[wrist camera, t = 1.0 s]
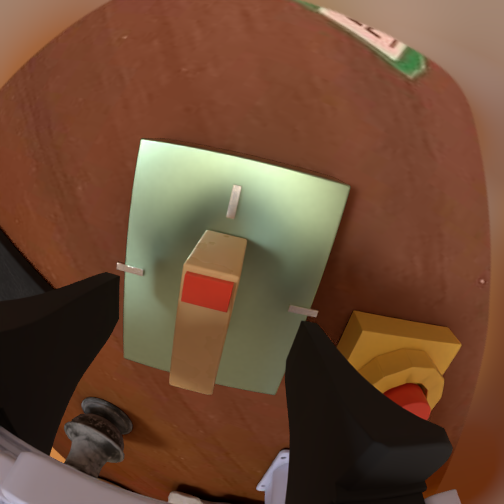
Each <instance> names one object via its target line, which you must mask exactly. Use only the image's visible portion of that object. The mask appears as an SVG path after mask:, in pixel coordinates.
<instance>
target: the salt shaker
mask: <svg viewBox="0 0 504 504" xmlns="http://www.w3.org/2000/svg"><path fill="white" fill-rule="evenodd" d="M82 409H83V411H84V413H85V414H80V415H78V416H77V417H75V418H74V419H72V421H71V422H67V423H66V424H65V426H64V429H65V432H66V434H67V436H68V437H69V439H70V440H71V441H72V446H71V451H70V453H69V455H68V457H67V459H66V461H65V463H64V464H66V465H68V466H70V467H72V468H74V469H76V470H78V471H80V472H83V473H85V474H87V475H89V476H92V477H94V478H96V479H97V478H98V475H99V473H100V470H101V468H102V467H103V465H104V464H105V463H106V462H115V463H117V462H121V461H122V460H123V459H124V453H123V449H124V443H123V438H122V435H121V434H128V433H130V432H131V430H132V423H131V421H130V419H129V418H128V416H127V415H126V414H125V413H124V412H123V411H121V410H120V409H119V408H118V407H116V406H114V405H113V404H111V403H109V402H107V401H105V400H102V399H99V398H94V397H89V398H86V399H84V400H83V402H82Z"/></svg>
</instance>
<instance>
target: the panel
mask: <svg viewBox="0 0 504 504" xmlns="http://www.w3.org/2000/svg"><path fill="white" fill-rule="evenodd" d="M350 188H351V187H350V185H348V184H346V183H344V182H342V181H340V180H339V179H337V178H335V177H331V176H328V175H325V174H321V173H318V172H314V171H311V170H307V169H303V168H300V167H296V166H292V165H288V164H285V163H281V162H277V161H273V160H269V159H265V158H260V157H256V156H252V155H248V154H243V153H239V152H234V151H229V150H225V149H220V148H215V147H210V146H205V145H200V144H194V143H189V142H183V141H177V140H171V139H165V138H141V140H140V146H139V151H138V157H137V163H136V169H135V176H134V183H133V190H132V197H131V205H130V214H129V224H128V234H127V246H126V260H125V263H122V262H117V269H118V270H121V271H125V277H124V308H123V342H124V358H126V359H129V360H132V361H135V362H138V363H141V364H144V365H147V366H151V367H154V368H157V369H161V370H164V371H168V372H170V367H171V357H172V347H173V338H174V330H175V321H176V313H177V306H178V298H179V291H180V284H181V277H182V270H183V265H184V263H185V262H186V260H187V259H188V257H189V255H190V254H191V252H192V251H193V249H194V248H195V246H196V245H197V243H198V242H199V240H200V239H201V237H202V236H203V234H204V233H205V231H206V230H210V231H214V232H219V233H223V234H227V235H231V236H236V237H240V238H244V239H246V240H247V245H246V251H245V256H244V261H243V266H242V272H241V277H240V281H239V285H238V290H237V294H236V298H235V302H234V306H233V310H232V314H231V318H230V323H229V327H228V331H227V335H226V339H225V343H224V347H223V352H222V356H221V360H220V364H219V368H218V372H217V377H216V381H215V384H219V385H224V386H229V387H233V388H238V389H243V390H248V391H254V392H259V393H265V394H271V395H275V394H276V392H277V390H278V387H279V385H280V383H281V380H282V378H283V376H284V373H285V370H286V359H287V356H288V354H289V351H290V349H291V346H292V344H293V341H294V339H295V336H296V333H297V331H298V328H299V326H300V323H301V320H303V321H306V319H307V316H312V317H316V316H317V314H318V309H313V308H311V306H312V303H313V300H314V297H315V295H316V292H317V289H318V286H319V284H320V281H321V278H322V275H323V272H324V269H325V267H326V264H327V261H328V258H329V255H330V252H331V249H332V246H333V243H334V240H335V237H336V234H337V231H338V227H339V224H340V221H341V218H342V215H343V211H344V208H345V205H346V201H347V198H348V195H349V191H350Z"/></svg>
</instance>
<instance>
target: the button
mask: <svg viewBox="0 0 504 504" xmlns="http://www.w3.org/2000/svg"><path fill="white" fill-rule="evenodd" d="M383 394H384V395H385V396H387V397H388V398H389V399H391V400H392V401H394V402H395V403H396V404H398V405H400V406H401V407H403V408H404V409H406V410H408V411H409V412H411V413H413V414H415V415H417V416H418V417H420V418H422V419H424V420H427V419H428V418H429V416H430V413H431V408H430V405H429V403H428V401H427V399H426V397H425V395H424V393H423V391H422V389H421V388H420V386H418V385H417V384H414V383H405V384H402V385H399V386H396V387H394V388H391V389H388V390H387V391H385V392H384V393H383Z"/></svg>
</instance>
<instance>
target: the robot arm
mask: <svg viewBox="0 0 504 504" xmlns="http://www.w3.org/2000/svg"><path fill="white" fill-rule="evenodd" d="M119 281H120V276H118V275H114V274H111V273H108V272H105V273H101V274H98V275H95V276H92V277H89V278H87V279H84V280H81V281H78V282H76V283H73V284H70V285H67V286H64V287H61V288H58V289H55V290H52V291H49V292H46V293H42V294H38V295H35V296H30V297H25V298H20V299H13V300H5V301H0V504H172V503H168V502H164V501H161V500H157V499H154V498H150V497H147V496H143V495H140V494H137V493H134V492H131V491H128V490H125V489H122V488H120V487H117V486H114V485H112V484H109V483H106V482H104V481H101V480H99V479H96V478H94V477H92V476H89V475H87V474H85V473H83V472H80V471H78V470H76V469H74V468H72V467H70V466H68V465H66V464H64V463H62V462H60V461H58V460H56V459H54V458H52V457H50V452H51V449H52V446H53V442H54V439H55V436H56V433H57V430H58V427H59V425H60V422H61V419H62V417H63V414H64V412H65V410H66V407H67V405H68V403H69V401H70V399H71V396H72V394H73V392H74V390H75V388H76V386H77V384H78V382H79V381H80V379H81V377H82V376H83V374H84V373H85V371H86V370H87V368H88V367H89V366H90V364H91V363H92V361H93V360H94V358H95V357H96V356H97V354H98V353H99V351H100V350H101V349H102V347H103V346H104V344H105V343H106V341H107V340H108V338H109V337H110V335H111V333H112V331H113V329H114V327H115V325H116V323H117V321H118V319H119ZM285 387H286V397H287V407H288V418H289V429H290V447H289V450H282V451H280V452H279V454H278V455H277V457H276V459H275V460H274V462H273V463H272V465H271V466H270V468H269V469H268V471H267V472H266V474H265V475H264V476H263V478H262V479H261V481H260V482H259V484H258V485H257V490H260V491H265V504H461V503H460V500H459V497H458V494H457V491H456V490H455V489H453V490H450V491H446V492H442V493H439V494H435V495H432V496H429V497H427V498H425V499H424V498H423V494H422V492H424V491H425V490H426V489H427V486H426V483H425V480H426V479H427V478H428V477H430V476H431V475H432V474H433V473H434V472H435V471H437V470H438V469H439V468H440V467H441V466H442V465H443V464H444V463H445V462H446V461H447V460H448V458H449V457H450V455H451V453H452V449H453V448H452V445H451V443H450V441H449V438H448V436H447V434H446V432H445V429H444V428H442V427H440V426H438V425H436V424H433V423H431V422H429V421H427V420H424V419H422V418H420V417H418V416H417V415H415V414H413V413H411V412H409V411H408V410H406V409H404V408H403V407H401V406H400V405H398V404H396V403H395V402H394V401H392V400H391V399H389V398H388V397H387V396H385V395H384V394H383V393H381V392H380V391H379V390H378V389H376V388H375V387H374V386H373V385H372V384H371V383H369V382H368V381H367V380H366V379H365V378H364V377H363V376H362V375H361V374H360V373H359V372H358V371H357V370H356V369H355V368H354V367H353V366H352V365H351V364H350V363H349V362H348V360H347V359H346V358H345V357H344V356H343V355H342V354H341V352H340V351H339V350H338V349H337V348H336V346H335V345H334V344H333V343H332V341H331V340H330V339H329V338H328V336H327V335H326V334H325V333H324V331H323V330H322V329H321V328H320V326H319V325H318V324H317V323H313V322H308V321H303V320H301V323H300V326H299V328H298V331H297V333H296V336H295V339H294V341H293V344H292V346H291V349H290V351H289V354H288V356H287V359H286V370H285Z"/></svg>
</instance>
